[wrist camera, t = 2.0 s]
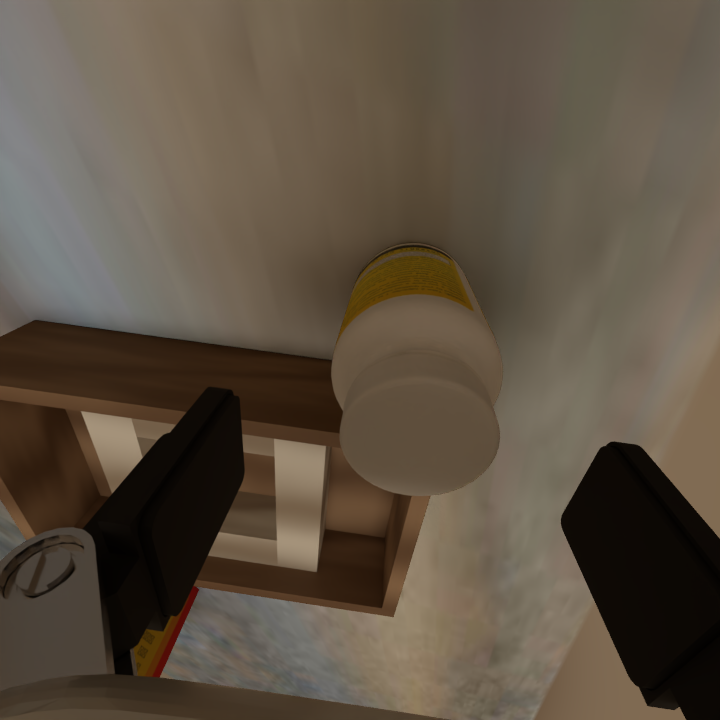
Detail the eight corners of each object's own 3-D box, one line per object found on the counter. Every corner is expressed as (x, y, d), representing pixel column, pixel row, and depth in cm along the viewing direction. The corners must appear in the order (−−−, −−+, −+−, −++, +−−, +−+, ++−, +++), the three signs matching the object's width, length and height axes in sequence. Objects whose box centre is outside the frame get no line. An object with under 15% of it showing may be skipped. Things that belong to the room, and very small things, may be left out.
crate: (34, 320, 20) (-78, 374, 15) (433, 374, 19) (445, 448, 15) (102, 489, 27) (40, 562, 22) (394, 533, 27) (393, 617, 22)
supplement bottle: (330, 290, 18) (266, 424, 9) (423, 213, 15) (451, 297, 7) (398, 366, 19) (398, 536, 11) (489, 307, 17) (576, 463, 9)
